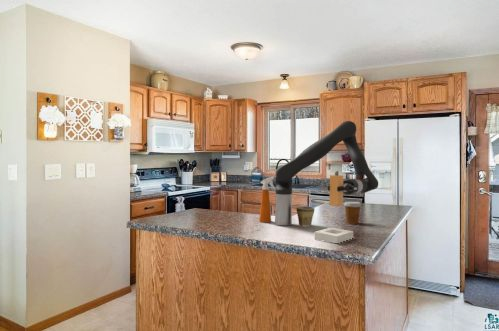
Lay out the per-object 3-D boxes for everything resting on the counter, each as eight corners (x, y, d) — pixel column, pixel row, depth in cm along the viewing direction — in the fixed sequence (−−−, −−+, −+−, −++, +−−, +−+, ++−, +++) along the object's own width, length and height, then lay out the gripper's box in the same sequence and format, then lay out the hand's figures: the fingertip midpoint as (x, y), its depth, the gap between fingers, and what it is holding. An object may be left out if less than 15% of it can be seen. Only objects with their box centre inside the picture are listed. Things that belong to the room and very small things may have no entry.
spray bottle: (272, 223, 197) (273, 177, 196) (256, 221, 203) (257, 176, 202) (278, 221, 203) (279, 176, 202) (263, 219, 209) (263, 176, 208)
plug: (337, 206, 160) (338, 171, 159) (329, 205, 163) (330, 171, 162) (342, 205, 163) (343, 171, 162) (334, 204, 166) (335, 170, 165)
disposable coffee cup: (353, 225, 194) (354, 204, 193) (340, 222, 201) (340, 202, 201) (364, 223, 199) (364, 202, 199) (350, 220, 207) (351, 200, 206)
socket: (337, 244, 153) (337, 236, 153) (314, 239, 162) (314, 231, 162) (353, 238, 163) (353, 231, 163) (331, 234, 172) (331, 227, 172)
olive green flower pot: (314, 228, 186) (314, 209, 186) (295, 227, 188) (295, 208, 188) (314, 223, 199) (314, 205, 199) (297, 222, 201) (297, 205, 201)
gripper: (339, 178, 177) (320, 179, 165) (365, 179, 167) (347, 181, 155) (339, 192, 178) (319, 195, 166) (365, 195, 167) (346, 198, 156)
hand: (333, 188), depth 161 cm, fingers closed on plug, 4 cm apart
